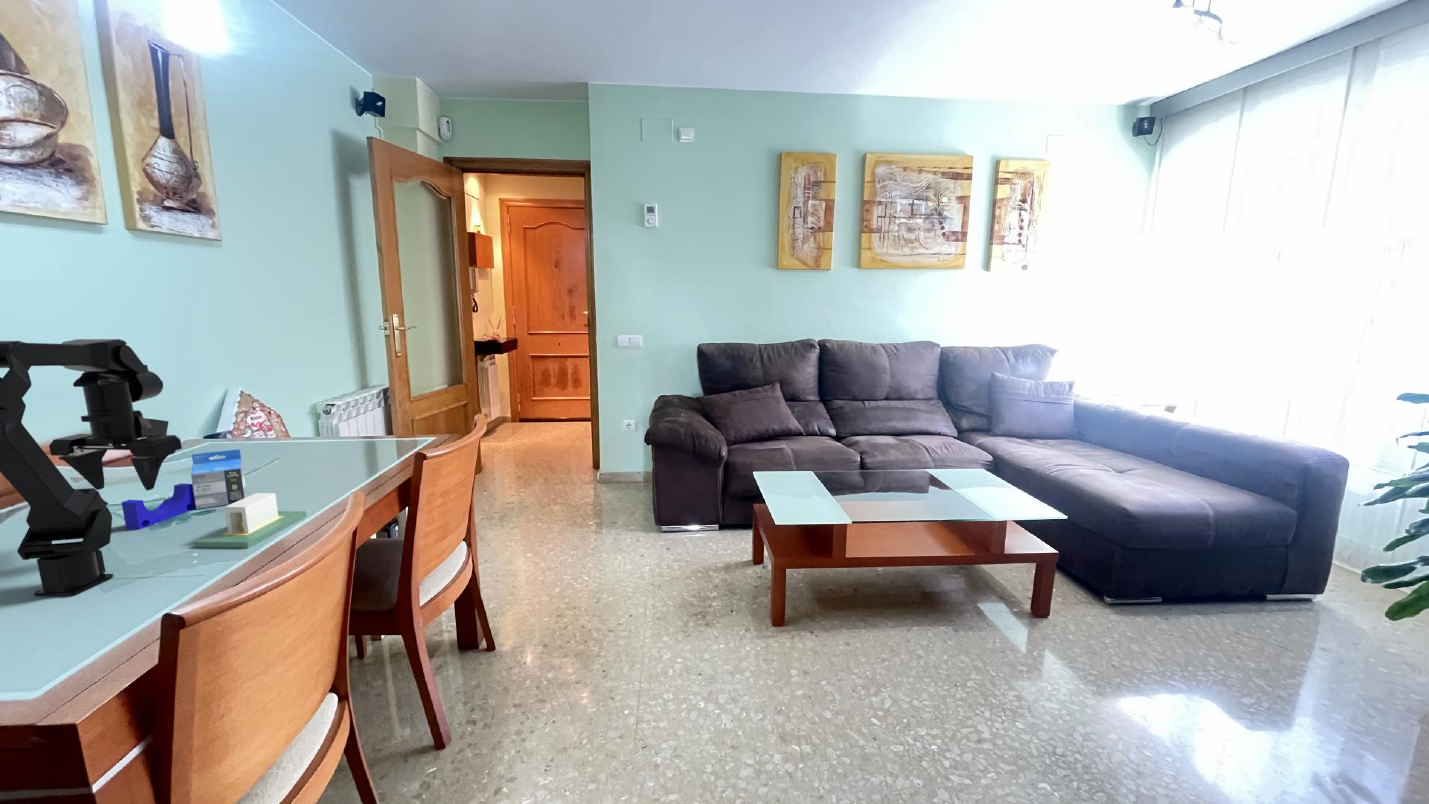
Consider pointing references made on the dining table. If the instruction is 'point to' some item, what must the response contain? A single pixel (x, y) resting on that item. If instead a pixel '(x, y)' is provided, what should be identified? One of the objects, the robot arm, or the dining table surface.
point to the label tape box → (218, 478)
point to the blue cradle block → (159, 508)
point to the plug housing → (251, 512)
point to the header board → (249, 539)
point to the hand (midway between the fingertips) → (125, 489)
